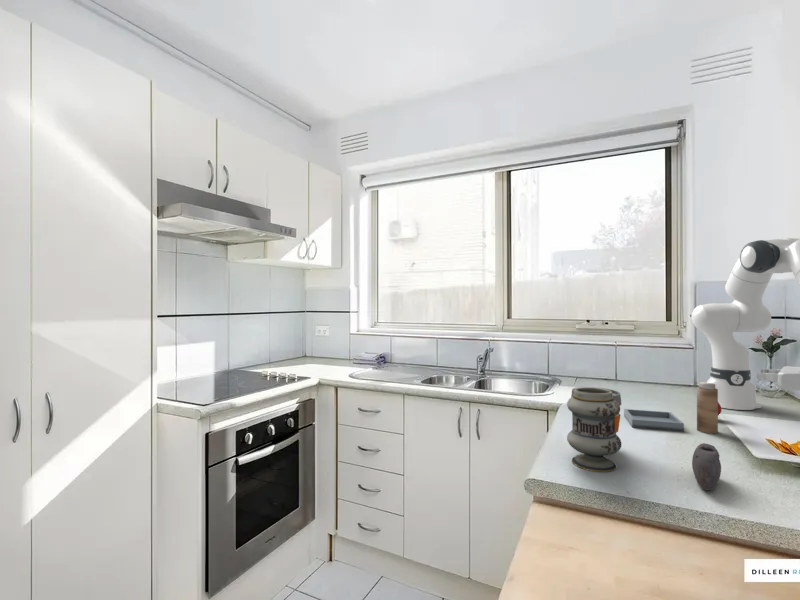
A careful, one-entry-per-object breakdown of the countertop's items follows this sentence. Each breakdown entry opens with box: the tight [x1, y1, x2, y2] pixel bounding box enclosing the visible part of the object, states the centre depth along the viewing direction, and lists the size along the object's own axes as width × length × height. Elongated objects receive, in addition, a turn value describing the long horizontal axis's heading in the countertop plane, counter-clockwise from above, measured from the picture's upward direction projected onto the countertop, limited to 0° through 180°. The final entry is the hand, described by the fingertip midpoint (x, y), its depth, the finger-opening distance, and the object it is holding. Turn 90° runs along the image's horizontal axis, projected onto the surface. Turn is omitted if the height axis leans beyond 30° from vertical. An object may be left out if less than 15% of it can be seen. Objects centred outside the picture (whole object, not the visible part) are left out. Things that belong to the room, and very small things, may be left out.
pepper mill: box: [696, 381, 719, 434], centre depth 130 cm, size 5×5×14 cm
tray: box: [623, 408, 685, 433], centre depth 138 cm, size 14×14×2 cm
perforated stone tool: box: [691, 442, 722, 491], centre depth 93 cm, size 15×5×7 cm, turn 142°
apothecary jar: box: [566, 386, 622, 473], centre depth 104 cm, size 12×12×18 cm
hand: (758, 373), depth 121 cm, fingers open, 8 cm apart
